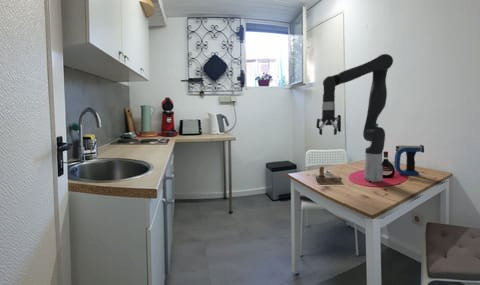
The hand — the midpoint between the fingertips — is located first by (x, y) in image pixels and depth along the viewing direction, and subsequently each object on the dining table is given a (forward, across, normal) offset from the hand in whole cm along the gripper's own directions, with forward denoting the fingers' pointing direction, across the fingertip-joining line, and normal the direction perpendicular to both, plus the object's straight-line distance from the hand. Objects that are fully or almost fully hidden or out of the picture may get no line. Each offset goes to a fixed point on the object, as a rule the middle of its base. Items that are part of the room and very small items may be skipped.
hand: (328, 134), depth 169 cm
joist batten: (+28, -2, -12) cm, 30 cm away
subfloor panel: (+28, -2, -4) cm, 28 cm away
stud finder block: (+27, -1, -4) cm, 27 cm away
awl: (+27, -6, -12) cm, 30 cm away
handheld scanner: (+28, +54, +8) cm, 61 cm away
